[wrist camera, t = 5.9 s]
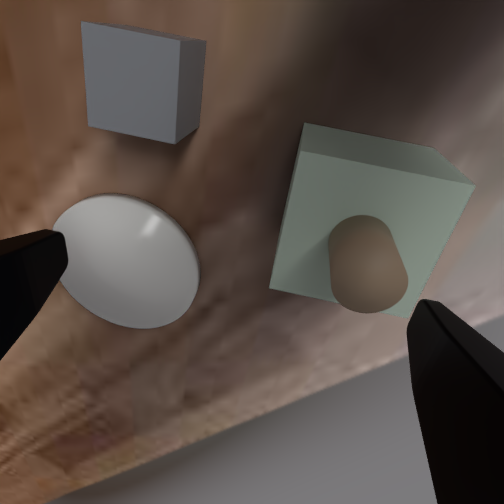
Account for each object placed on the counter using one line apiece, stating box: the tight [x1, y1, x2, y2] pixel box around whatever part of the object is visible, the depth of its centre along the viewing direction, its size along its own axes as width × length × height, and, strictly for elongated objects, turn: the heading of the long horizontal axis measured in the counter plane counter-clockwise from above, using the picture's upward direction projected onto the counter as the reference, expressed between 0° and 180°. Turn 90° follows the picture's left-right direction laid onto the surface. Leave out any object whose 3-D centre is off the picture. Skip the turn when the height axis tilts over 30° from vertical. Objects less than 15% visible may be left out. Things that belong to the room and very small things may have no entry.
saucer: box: [52, 193, 201, 329], centre depth 24 cm, size 10×10×1 cm
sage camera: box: [269, 122, 476, 318], centre depth 16 cm, size 7×7×8 cm
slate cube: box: [81, 21, 206, 144], centre depth 17 cm, size 4×4×4 cm
